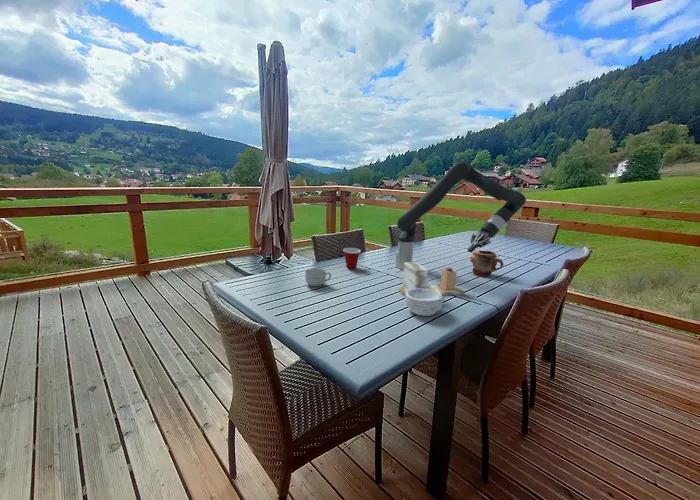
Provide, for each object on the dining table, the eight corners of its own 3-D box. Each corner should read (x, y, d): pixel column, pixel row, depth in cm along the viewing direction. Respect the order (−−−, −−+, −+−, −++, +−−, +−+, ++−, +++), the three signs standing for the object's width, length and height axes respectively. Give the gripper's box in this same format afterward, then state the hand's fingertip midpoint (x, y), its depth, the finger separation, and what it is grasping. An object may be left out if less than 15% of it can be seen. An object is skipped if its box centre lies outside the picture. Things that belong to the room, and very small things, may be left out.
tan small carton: (449, 285, 152) (451, 266, 149) (454, 289, 147) (456, 269, 144) (440, 286, 150) (442, 267, 148) (445, 289, 146) (447, 270, 143)
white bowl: (414, 301, 136) (416, 284, 134) (447, 310, 127) (448, 293, 125) (397, 312, 125) (398, 294, 123) (431, 323, 115) (433, 304, 114)
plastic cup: (353, 272, 177) (353, 252, 175) (339, 268, 184) (339, 249, 181) (363, 268, 186) (364, 249, 183) (350, 264, 192) (350, 246, 189)
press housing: (450, 285, 157) (453, 259, 154) (466, 295, 144) (469, 267, 140) (397, 289, 151) (398, 262, 147) (407, 299, 137) (409, 271, 134)
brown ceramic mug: (506, 277, 171) (509, 254, 167) (497, 282, 163) (500, 257, 160) (473, 269, 185) (475, 247, 182) (463, 273, 178) (465, 250, 174)
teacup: (301, 286, 154) (300, 271, 152) (313, 280, 163) (312, 266, 161) (323, 290, 147) (323, 275, 146) (335, 284, 157) (335, 269, 155)
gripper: (480, 219, 153) (457, 243, 153) (498, 222, 141) (472, 249, 141) (488, 229, 155) (465, 253, 156) (506, 233, 143) (481, 259, 143)
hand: (469, 251), depth 148 cm, fingers closed
